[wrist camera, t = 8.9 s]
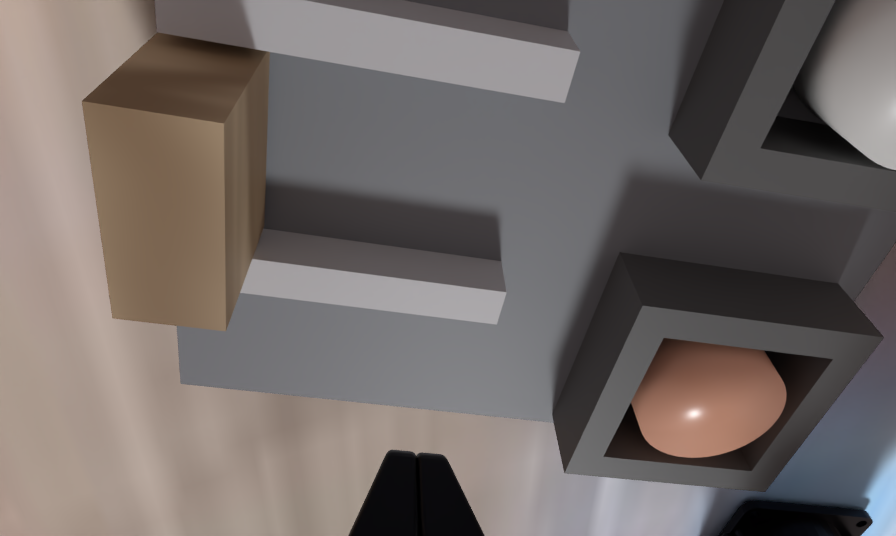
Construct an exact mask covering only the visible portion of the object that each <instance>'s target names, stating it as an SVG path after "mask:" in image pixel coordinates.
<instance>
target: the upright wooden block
mask: <svg viewBox="0 0 896 536" xmlns="http://www.w3.org/2000/svg"><path fill="white" fill-rule="evenodd" d="M269 63H270V52H268V51H262V50H256V49H251V48H245V47H239V46H233V45H228V44H222V43H216V42H210V41H205V40H199V39H193V38H187V37H182V36H176V35H170V34H164V33H159V32H158V33H157V34H155V35H154V36H153V37H152V38H151V39H150V40H149V41H148V42H147V43H146V44H144V45H143V46H142V47H141V48H140V49H139V50H138V51H137V52H136V53H134V54H133V55H132V56H131V57H130V58H129V59H128V60H127V61H126V62H125V63H123V64H122V65H121V66H120V67H119V68H118V69H117V70H116V71H115V72H113V73H112V74H111V75H110V76H109V77H108V78H107V79H106V80H105V81H104V82H102V83H101V84H100V85H99V86H98V87H97V88H96V89H95V90H94V91H92V92H91V93H90V94H89V95H88V96H87V97H86V98H85V99H84V100H83V101H82V106H83V113H84V120H85V127H86V134H87V141H88V148H89V155H90V162H91V169H92V176H93V183H94V191H95V198H96V205H97V212H98V219H99V226H100V233H101V240H102V247H103V254H104V261H105V268H106V275H107V283H108V290H109V297H110V304H111V311H112V318H115V319H123V320H132V321H141V322H149V323H158V324H166V325H175V326H184V327H192V328H201V329H210V330H218V331H226V330H227V327H228V324H229V322H230V319H231V316H232V313H233V311H234V308H235V305H236V302H237V300H238V297H239V294H240V291H241V289H242V286H243V283H244V280H245V278H246V275H247V272H248V269H249V267H250V264H251V261H252V258H253V256H254V253H255V250H256V247H257V245H258V242H259V239H260V236H261V234H262V231H263V228H264V222H265V190H266V158H267V126H268V94H269Z"/></svg>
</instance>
